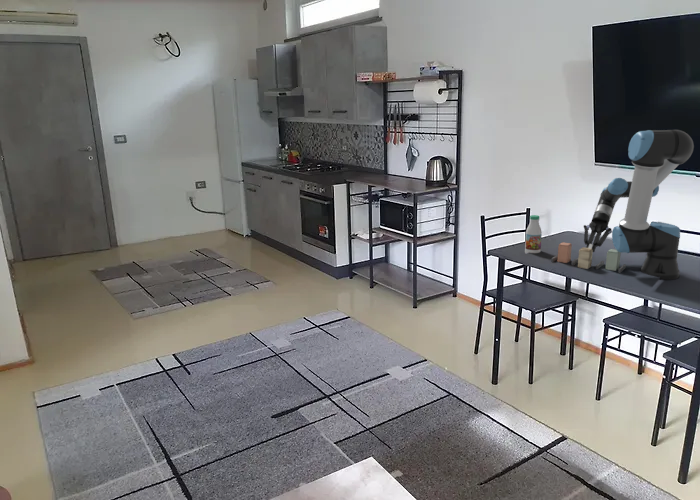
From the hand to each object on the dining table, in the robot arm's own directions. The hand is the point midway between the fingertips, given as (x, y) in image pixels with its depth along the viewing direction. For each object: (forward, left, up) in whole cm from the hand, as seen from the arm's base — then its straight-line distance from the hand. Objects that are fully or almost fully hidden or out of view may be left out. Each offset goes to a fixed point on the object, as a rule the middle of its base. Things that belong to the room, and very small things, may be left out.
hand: (587, 257), depth 253 cm
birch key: (-2, +3, -4) cm, 5 cm away
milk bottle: (+30, +10, -5) cm, 32 cm away
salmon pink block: (+9, +6, -4) cm, 12 cm away
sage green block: (-9, -7, -4) cm, 12 cm away
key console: (0, 0, -5) cm, 5 cm away
